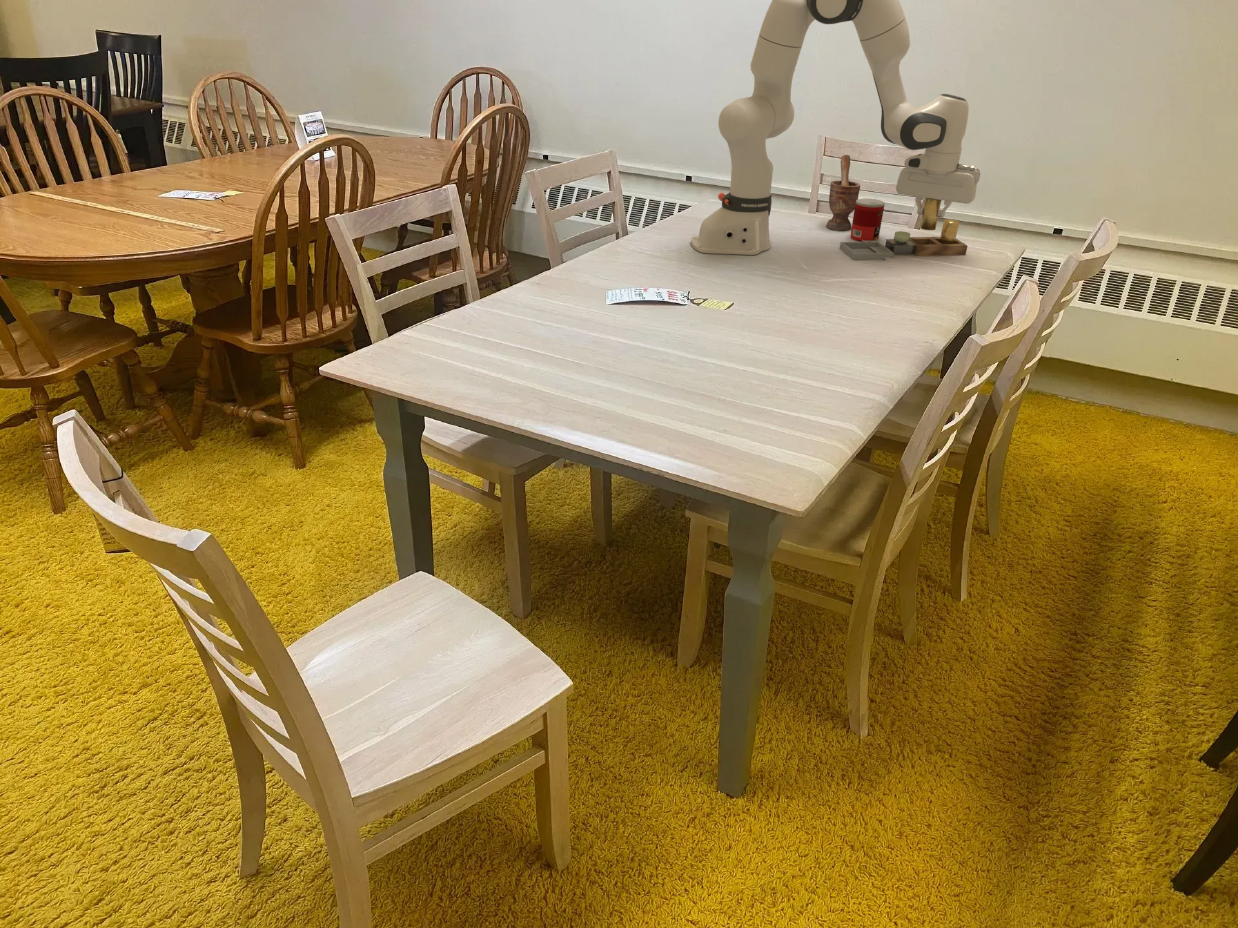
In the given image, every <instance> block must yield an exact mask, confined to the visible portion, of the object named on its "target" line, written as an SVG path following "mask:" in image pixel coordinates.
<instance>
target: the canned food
mask: <svg viewBox="0 0 1238 928" xmlns="http://www.w3.org/2000/svg"><path fill="white" fill-rule="evenodd" d="M884 211H885V202H884V201H883V200H881V199H877V198H858V200H856V203H855V209H854V211H853V217H852V221H851V222H852V223H851V229H850V239H851V240H853V241H855V242H864V241H865V242H873V241H877V240H879V238H880V233H881V226H882V222H883V215H884Z"/></svg>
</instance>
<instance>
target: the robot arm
mask: <svg viewBox="0 0 1238 928" xmlns="http://www.w3.org/2000/svg"><path fill="white" fill-rule="evenodd" d="M815 20H816V21H817V22H818V23H820V24H823V25H835V24H840V23H846V22H852V23H853V25H854V27H855V30H856V34H857V36H858V40H859V42H860V46H861V48H862V51H863V53H864V55H865V58H866V60H867V63H868V65H869V68H870V71H871V74H872V78H873V82H874V85H875V89H876V92H877V95H878V99H879V103H880V108H881V117H880V118H881V119H880V129H881V134H882V136H883V138H884V139H885V140H886V141H887V142H888V143H891V144H893V145H898V146H899V147H902V148H905V149H907V150H911V151H918V150H924V151H925V152H924V153H918V154H914V155H911V156H909V157H907V158H905V160H904V163H903V165H904V167H903V168H902V169H901V171H900V173H899V175H898V179H897V181H896V187H895V190H896V192H897V194H898V195H903V196H911V197H915V199H914V201H915V204H916V206H917V211H916V214H917V215H922V216H923V211H924V206H923V204H922V201H923V199H924V198H925V199H926V198H930V199H937V200H941V201H943V205H945V206H944V207H943V208H940V210H938V215H937V217H938V218H941V219H942V218H943V219H944V217H945V215H946V211H947V210H948V209H949V207H950V206H951V205H952V203H959V204H964V205H966V204H967V205H968V204H970V203H972V202H973V201H974V200H975V199H976V195H977V194H976V193H977V184H978V183H979V181H980V178H981V171H980V169H979V168H977V166H975V165H966V164H960V160H961V155H962V141H963V138H964V136H965V134H966V130H967V124H968V120H969V119H968V118H969V109H970V108H969V107H970V106H969V102H968V101H967V100H966V98H964V97H961V96H956V95H953V94H947V93H941V94H938V95H937V97H936V98H934V99H933V100H931V101H930V102H928V103H925V104H923V105H921V106H918V107H916V106H914V105H913V104H912V103H911V102H910V101H909V100H908V98H907V96H906V91H905V88H904V84H903V81H902V80H903V79H902V77H901V73H900V64H901V61H902V60H903V59H904V58H905V56H906V55H907V54H908V51H909V49H910V45H911V40H910V38H911V37H910V30H909V27H908V23H907V19H906V15H905V12H904V10H903V7H902V4H901V2H900V0H771V2H770V4H769V6H768V8H767V11H766V13H765V16H764V18H763V21H762V24H761V27H760V31H759V33H758V36H757V40H756V45H755V48H754V52H753V55H752V58H751V62H750V71H751V73H752V75H753V79H754V84H753V92H752V95H751V96H747V97H742V98H738V99H736V100H734V101H732V102H730V103H729V104H726V106H724V107H723V108H722V110H721V111H720V113H719V117H718V124H717V125H718V130H719V132H720V135H721V137H722V138H723V139H724V140H725V141H726V143H727V146H728V150H729V154H730V161H731V162H730V164H731V167H730V168H731V171H730V186H729V187H730V188H729V189H730V190H729V192H728V193H727V194H725V193H724V192H719V193H718V195H717V198H718V200H719V201H720V202H721V207H720V208H718V209H717V210H716V211H714V212H713V213H712V214H710V215H709V216H707V217H705V218H704V219H703V220H702V223H701V224H700V228H699V232H698V235H693V236H692V237H691V238H690V245H691V247H692V249H694V250H695V251H697V252H699V253H702V254H720V255H745V256H746V255H748V256H749V255H750V256H755V255H758V254H759V253H761V252H764V251H768V250H769V249H771V247H772V243H771V237H770V223H769V221H770V215H771V211H772V205H773V204H772V201H773V200H772V198H773V195H772V194H771V192H772V182H773V172H774V165H773V162H772V161H771V160H770V159H769V157H768V154H767V146H766V142H767V141H766V140H768V139H771V138H777V137H778V136H780V135H781V134H783V133H784V132H786V131H788V129H789V128H790V127H791V126H792V124H793V122H794V118H795V108H794V105H793V102H792V97H791V95H792V85H793V83H792V82H793V78H794V74H795V71H796V67H797V64H798V60H799V57H800V54H801V51H802V47H803V44H804V41H805V37H806V34H807V32H808V29H809V28H810V26H811V25H812V23H814V21H815Z"/></svg>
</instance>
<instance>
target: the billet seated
mask: <svg viewBox="0 0 1238 928" xmlns="http://www.w3.org/2000/svg"><path fill="white" fill-rule="evenodd" d="M959 226H960V221H959V220H956V219H954V218H953V219H951V218H949V219H948V218H947V219H944V220H943V224H942V227H941V233H940V236H939V237H940V241H939V242H940V243H941V244H955V240H956V239H957V234H958V231H959V230H958V229H959Z"/></svg>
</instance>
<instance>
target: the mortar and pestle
mask: <svg viewBox="0 0 1238 928" xmlns="http://www.w3.org/2000/svg"><path fill="white" fill-rule="evenodd" d="M850 168H851V156H850V154H849V155H847V154H845V155H844V154H843V155H842V156H841V158H840V173H841V174H840V175H841V180H832V181H831V182H830V187H829V196H828V202H829V203H828V204H829V205H828V206H829V210H830V212H831V213H832V215H833V216H832V218H831V219H829V220H828V221H827V223H826V228H828V229H830V230H833V231H837V232H839V231H840V232H841V231H848V230H850V231H851V229H852V223H851V221H850V219H849V216H850V215H851V214H852V213H854V209H855V203H856V200H858V199H859V194H860V190H861V184H860V183H859V182H856V181H850V180H849V177H850V176H849V174H850V173H849V172H850Z"/></svg>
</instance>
